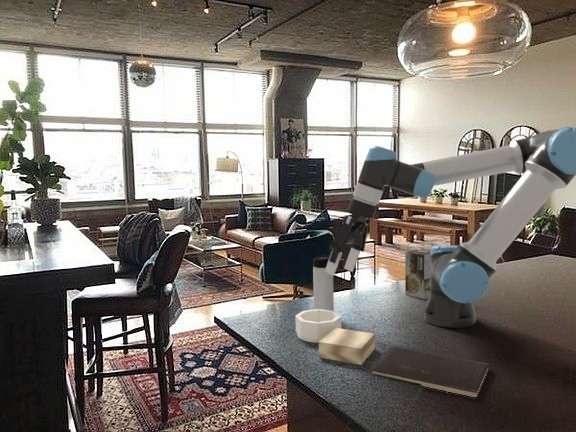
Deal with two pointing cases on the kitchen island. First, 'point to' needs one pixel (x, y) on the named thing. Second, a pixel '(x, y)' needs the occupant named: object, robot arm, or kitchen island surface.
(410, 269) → the coffee box
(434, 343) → the kitchen island surface
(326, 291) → the travel mug
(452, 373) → the hardcover book
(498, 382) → the kitchen island surface
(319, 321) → the bowl
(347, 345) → the tan box
